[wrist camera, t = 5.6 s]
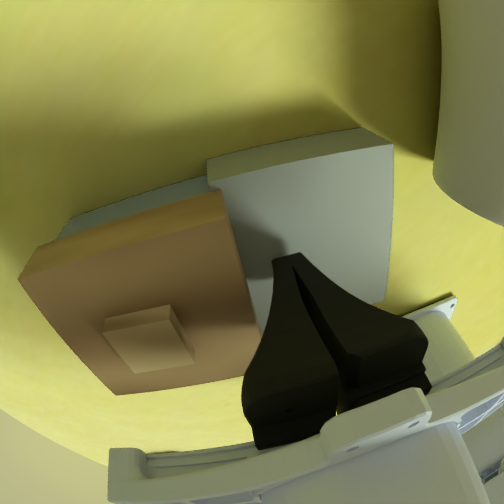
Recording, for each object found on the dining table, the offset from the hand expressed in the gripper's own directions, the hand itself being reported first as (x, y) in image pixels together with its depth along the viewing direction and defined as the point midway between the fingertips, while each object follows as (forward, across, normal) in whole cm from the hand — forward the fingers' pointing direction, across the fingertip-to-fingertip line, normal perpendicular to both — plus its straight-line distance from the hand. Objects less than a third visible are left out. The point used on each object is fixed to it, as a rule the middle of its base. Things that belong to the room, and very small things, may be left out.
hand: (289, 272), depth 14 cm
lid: (+1, +6, 0) cm, 7 cm away
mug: (0, -15, -12) cm, 20 cm away
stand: (+4, -2, 0) cm, 4 cm away
